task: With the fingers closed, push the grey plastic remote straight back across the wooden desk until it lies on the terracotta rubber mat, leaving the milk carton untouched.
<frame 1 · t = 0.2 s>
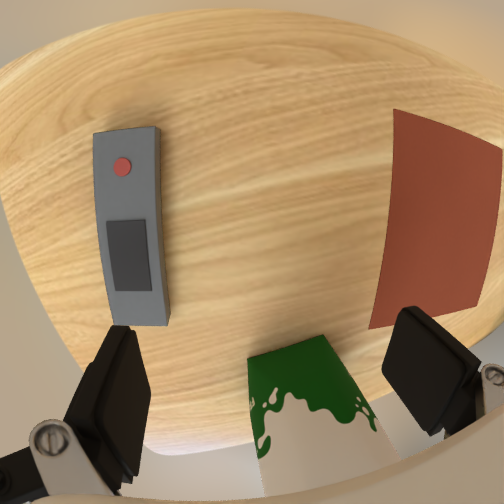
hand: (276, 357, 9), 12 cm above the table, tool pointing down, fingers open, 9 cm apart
milk carton: (291, 371, 25), on the table
remote: (133, 229, 19), on the table
mat: (454, 228, 23), on the table
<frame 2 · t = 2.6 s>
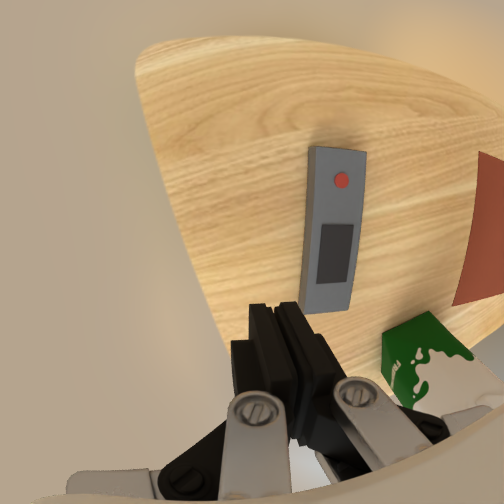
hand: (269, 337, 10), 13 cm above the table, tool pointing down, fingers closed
milk carton: (403, 341, 30), on the table
remote: (328, 231, 24), on the table
mat: (502, 233, 27), on the table
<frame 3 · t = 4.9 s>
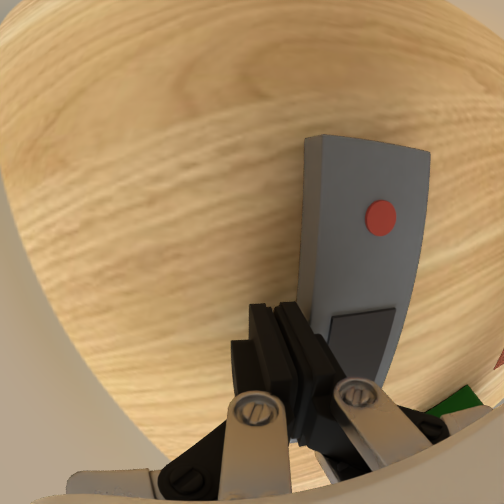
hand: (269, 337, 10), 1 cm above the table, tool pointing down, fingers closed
milk carton: (429, 423, 18), on the table
remote: (342, 311, 12), on the table, touching gripper
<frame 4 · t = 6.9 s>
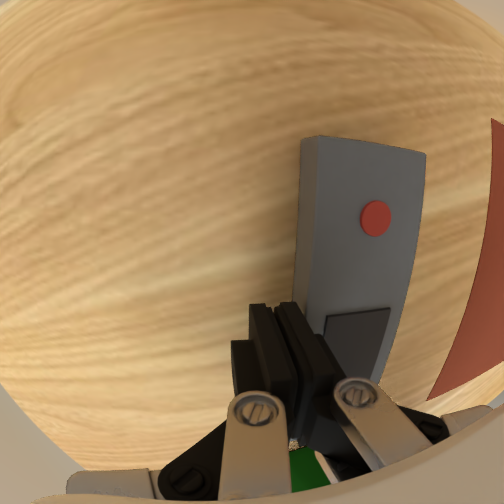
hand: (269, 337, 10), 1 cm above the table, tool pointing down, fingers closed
milk carton: (330, 455, 17), on the table
remote: (338, 311, 12), on the table, touching gripper
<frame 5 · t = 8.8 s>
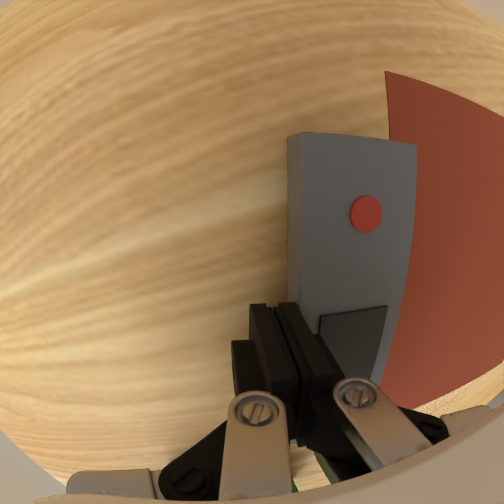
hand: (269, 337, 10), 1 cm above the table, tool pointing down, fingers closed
remote: (334, 310, 12), on the table, touching gripper, mat
mat: (487, 277, 13), on the table
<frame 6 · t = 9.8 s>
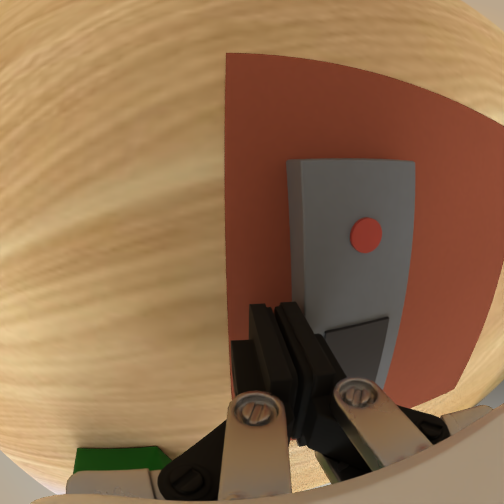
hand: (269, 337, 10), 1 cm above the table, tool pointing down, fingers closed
milk carton: (139, 468, 15), on the table
remote: (338, 321, 12), on the table, touching gripper, mat
mat: (411, 296, 12), on the table
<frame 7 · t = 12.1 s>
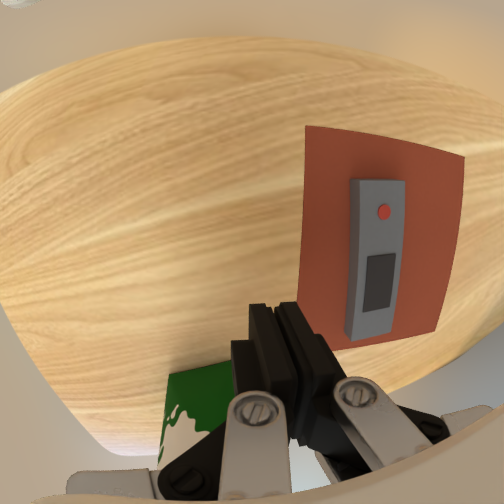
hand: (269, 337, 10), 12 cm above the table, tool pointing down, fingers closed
milk carton: (214, 389, 26), on the table
remote: (370, 259, 23), on the table, touching mat
mat: (393, 251, 23), on the table
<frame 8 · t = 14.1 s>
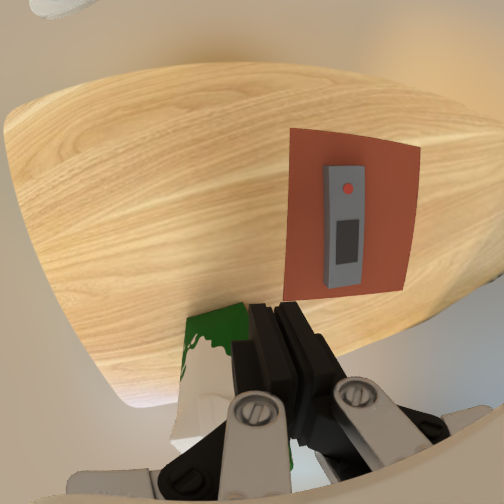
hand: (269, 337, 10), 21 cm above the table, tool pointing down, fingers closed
milk carton: (222, 331, 34), on the table
remote: (341, 225, 32), on the table, touching mat
mat: (359, 220, 32), on the table
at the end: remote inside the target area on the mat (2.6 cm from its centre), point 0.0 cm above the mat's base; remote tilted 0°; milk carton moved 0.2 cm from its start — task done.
